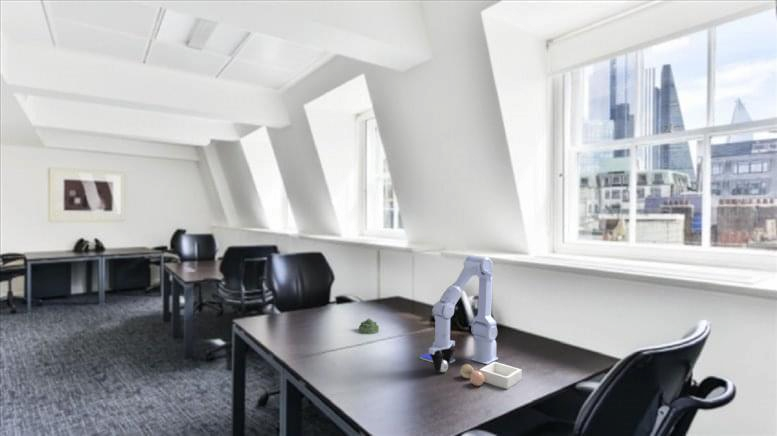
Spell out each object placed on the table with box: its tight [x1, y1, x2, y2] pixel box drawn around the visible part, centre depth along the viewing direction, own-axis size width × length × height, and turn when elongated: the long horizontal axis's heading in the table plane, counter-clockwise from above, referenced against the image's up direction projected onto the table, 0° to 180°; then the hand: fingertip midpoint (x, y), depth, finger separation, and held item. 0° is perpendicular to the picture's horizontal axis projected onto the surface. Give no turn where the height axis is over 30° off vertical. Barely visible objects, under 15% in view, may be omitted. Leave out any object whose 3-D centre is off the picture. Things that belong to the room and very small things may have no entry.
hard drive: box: [419, 351, 456, 365], centre depth 173 cm, size 2×8×12 cm
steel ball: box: [438, 359, 449, 373], centre depth 160 cm, size 5×5×5 cm
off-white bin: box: [478, 361, 523, 390], centre depth 153 cm, size 11×11×4 cm
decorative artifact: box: [358, 318, 380, 335], centre depth 211 cm, size 10×7×10 cm
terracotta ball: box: [469, 370, 485, 387], centre depth 148 cm, size 5×5×5 cm
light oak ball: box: [459, 363, 475, 379], centre depth 154 cm, size 5×5×5 cm
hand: (441, 368), depth 160 cm, fingers closed on steel ball, 5 cm apart
